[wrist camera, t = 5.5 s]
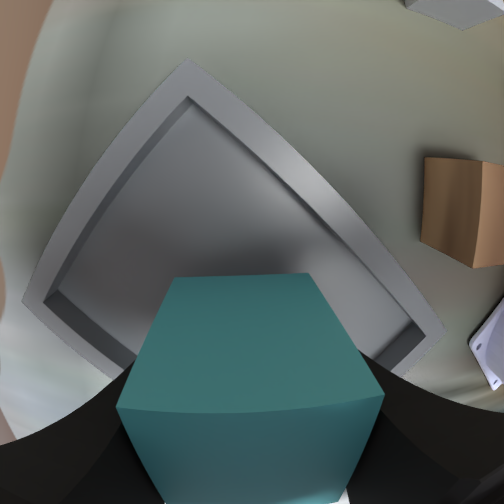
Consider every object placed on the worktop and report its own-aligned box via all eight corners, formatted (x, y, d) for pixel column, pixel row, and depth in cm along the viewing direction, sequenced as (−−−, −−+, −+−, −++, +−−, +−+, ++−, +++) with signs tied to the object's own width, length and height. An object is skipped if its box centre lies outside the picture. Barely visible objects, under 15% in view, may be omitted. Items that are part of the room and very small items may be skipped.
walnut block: (477, 165, 12) (532, 173, 8) (472, 238, 13) (522, 261, 9) (423, 157, 11) (482, 161, 8) (419, 240, 13) (472, 268, 9)
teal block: (308, 272, 10) (385, 394, 4) (300, 375, 11) (338, 501, 6) (174, 277, 10) (115, 407, 4) (189, 380, 11) (170, 510, 5)
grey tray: (427, 313, 14) (447, 330, 12) (272, 441, 16) (276, 465, 14) (194, 73, 10) (187, 57, 8) (42, 284, 12) (21, 301, 10)
